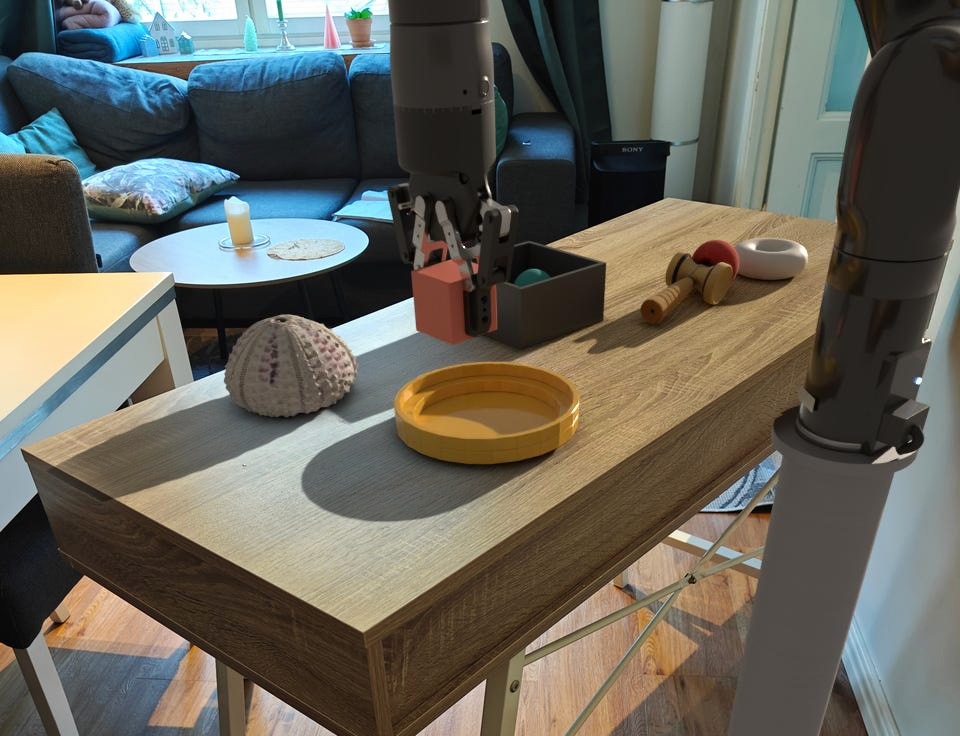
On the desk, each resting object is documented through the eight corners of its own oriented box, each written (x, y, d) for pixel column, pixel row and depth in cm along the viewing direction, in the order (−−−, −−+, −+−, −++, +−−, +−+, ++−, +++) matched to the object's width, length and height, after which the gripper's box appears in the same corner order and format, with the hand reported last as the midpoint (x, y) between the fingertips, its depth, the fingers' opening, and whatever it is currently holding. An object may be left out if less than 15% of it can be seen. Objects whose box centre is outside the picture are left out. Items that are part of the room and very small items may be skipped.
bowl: (616, 428, 84) (618, 397, 82) (475, 490, 75) (473, 458, 74) (497, 376, 94) (496, 348, 92) (361, 425, 86) (358, 396, 84)
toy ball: (563, 311, 107) (563, 269, 104) (533, 324, 105) (531, 281, 101) (535, 301, 110) (534, 259, 107) (505, 313, 108) (502, 271, 104)
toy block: (497, 329, 76) (495, 268, 73) (452, 345, 74) (448, 283, 71) (460, 316, 79) (457, 257, 76) (415, 330, 77) (410, 270, 74)
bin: (603, 320, 106) (606, 262, 102) (521, 349, 100) (520, 289, 96) (529, 295, 114) (529, 240, 110) (448, 320, 108) (445, 263, 104)
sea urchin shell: (386, 394, 91) (377, 316, 86) (276, 439, 84) (260, 356, 79) (309, 362, 99) (298, 288, 94) (202, 400, 92) (184, 322, 87)
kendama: (686, 342, 103) (756, 279, 112) (679, 288, 99) (753, 227, 108) (629, 340, 108) (701, 280, 117) (620, 289, 104) (695, 230, 113)
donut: (731, 259, 124) (723, 280, 116) (735, 233, 121) (727, 252, 114) (807, 264, 121) (803, 285, 113) (812, 236, 119) (809, 256, 111)
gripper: (347, 94, 68) (372, 317, 79) (466, 111, 59) (477, 360, 70) (424, 82, 72) (439, 297, 82) (547, 96, 63) (546, 335, 74)
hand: (456, 325), depth 76 cm, fingers closed on toy block, 5 cm apart
